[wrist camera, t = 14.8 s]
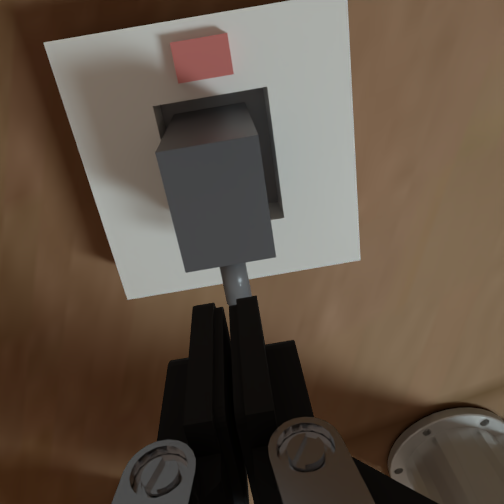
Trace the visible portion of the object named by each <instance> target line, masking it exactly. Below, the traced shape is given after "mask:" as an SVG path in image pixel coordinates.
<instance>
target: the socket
mask: <svg viewBox="0 0 504 504" xmlns="http://www.w3.org/2000/svg"><path fill="white" fill-rule="evenodd" d="M44 47H45V50H46V53H47V56H48V59H49V62H50V65H51V68H52V71H53V74H54V77H55V80H56V83H57V86H58V89H59V92H60V95H61V98H62V101H63V104H64V108H65V111H66V114H67V117H68V120H69V123H70V126H71V129H72V132H73V135H74V138H75V141H76V144H77V147H78V150H79V153H80V156H81V159H82V162H83V165H84V169H85V172H86V175H87V178H88V181H89V184H90V187H91V190H92V193H93V196H94V199H95V202H96V205H97V208H98V211H99V214H100V217H101V220H102V223H103V226H104V230H105V233H106V236H107V239H108V242H109V245H110V248H111V251H112V254H113V257H114V260H115V263H116V266H117V269H118V272H119V275H120V278H121V281H122V284H123V287H124V291H125V294H126V297H127V300H130V299H135V298H141V297H147V296H153V295H159V294H165V293H171V292H177V291H182V290H188V289H194V288H200V287H206V286H212V285H218V284H223V281H222V277H221V272H220V267H217V268H211V269H205V270H199V271H193V272H188V273H186V272H185V269H184V265H183V261H182V257H181V253H180V249H179V245H178V241H177V237H176V233H175V229H174V225H173V221H172V217H171V213H170V209H169V205H168V201H167V197H166V193H165V189H164V185H163V182H162V178H161V174H160V170H159V166H158V162H157V158H156V154H155V152H156V150H157V148H158V146H159V144H160V142H161V140H162V138H163V136H164V134H165V132H166V129H167V127H168V125H169V123H170V121H171V119H172V117H173V115H174V114H178V113H184V112H189V111H195V110H201V109H207V108H213V107H218V106H224V105H230V104H236V103H242V102H245V104H246V107H247V109H248V111H249V114H250V116H251V119H252V121H253V123H254V126H255V128H256V131H257V133H258V136H259V143H260V150H261V157H262V164H263V170H264V177H265V184H266V191H267V198H268V205H269V211H270V218H271V225H272V232H273V239H274V246H275V252H276V257H275V258H269V259H263V260H257V261H252V262H246V267H247V273H248V278H249V279H253V278H259V277H265V276H270V275H276V274H282V273H288V272H294V271H300V270H306V269H311V268H317V267H323V266H329V265H335V264H341V263H347V262H353V261H358V260H360V242H359V222H358V202H357V182H356V162H355V142H354V122H353V102H352V82H351V62H350V42H349V22H348V2H347V0H289V1H283V2H278V3H272V4H266V5H260V6H254V7H248V8H242V9H237V10H231V11H225V12H219V13H213V14H207V15H201V16H196V17H190V18H184V19H178V20H172V21H166V22H161V23H155V24H149V25H143V26H137V27H131V28H125V29H120V30H114V31H108V32H102V33H96V34H90V35H84V36H79V37H73V38H67V39H61V40H55V41H49V42H44Z"/></svg>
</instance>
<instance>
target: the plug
mask: <svg viewBox="0 0 504 504" xmlns="http://www.w3.org/2000/svg"><path fill="white" fill-rule="evenodd" d="M155 154H156V158H157V162H158V166H159V170H160V174H161V178H162V182H163V185H164V189H165V193H166V197H167V201H168V205H169V209H170V213H171V217H172V221H173V225H174V229H175V233H176V237H177V241H178V245H179V249H180V253H181V257H182V261H183V265H184V269H185V272H186V273H188V272H193V271H199V270H205V269H211V268H217V267H220V272H221V277H222V281H223V286H224V291H225V296H226V300H227V304H228V305H229V306H230V305H236V299H239V298H245V297H251V296H252V295H251V289H250V284H249V278H248V273H247V267H246V262H252V261H257V260H263V259H269V258H275V257H276V252H275V246H274V239H273V232H272V225H271V218H270V211H269V205H268V198H267V191H266V184H265V177H264V170H263V164H262V157H261V150H260V143H259V136H258V133H257V131H256V128H255V126H254V123H253V121H252V119H251V116H250V114H249V111H248V109H247V107H246V104H245V102H242V103H236V104H230V105H224V106H218V107H213V108H207V109H201V110H195V111H189V112H184V113H178V114H174V115H173V117H172V119H171V121H170V123H169V125H168V127H167V129H166V132H165V134H164V136H163V138H162V140H161V142H160V144H159V146H158V148H157V150H156V152H155Z"/></svg>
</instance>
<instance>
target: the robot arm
mask: <svg viewBox="0 0 504 504" xmlns="http://www.w3.org/2000/svg"><path fill="white" fill-rule="evenodd" d="M229 317H230V336H229V332H228V327H227V322H226V318H225V313H224V309H223V307H219V308H216V307H215V304H214V303H209V304H203V305H197V306H193V311H192V323H191V335H190V347H189V358H183V359H177V360H171V361H170V362H169V364H168V369H167V375H166V382H165V389H164V396H163V403H162V410H161V417H160V424H159V431H158V438H157V442H154V443H152V444H150V445H147V446H146V447H144V448H143V449H141V450H140V451H139V452H137V453H136V454H135V455H134V456H133V457H132V459H131V460H130V461H129V462H128V464H127V466H126V468H125V470H124V471H123V474H122V477H121V479H120V482H119V485H118V488H117V490H116V493H115V496H114V498H113V501H112V504H249V495H248V480H247V475H248V479H249V483H250V488H251V492H252V496H253V501H254V504H504V421H503V420H502V419H501V418H500V417H499V416H498V415H496V414H494V413H492V412H490V411H487V410H484V409H479V408H471V407H467V408H453V409H447V410H443V411H440V412H437V413H434V414H431V415H429V416H427V417H425V418H423V419H421V420H419V421H418V422H416V423H414V424H413V425H411V426H410V427H409V428H408V429H407V430H406V431H404V432H403V433H402V434H401V436H400V437H399V438H398V439H397V440H396V441H395V443H394V445H393V447H392V448H391V450H390V454H389V457H388V470H389V474H390V476H391V478H390V477H388V476H387V475H385V474H383V473H381V472H379V471H377V470H375V469H374V468H372V467H370V466H368V465H366V464H364V463H363V462H361V461H359V460H357V459H355V458H353V457H351V455H350V453H349V451H348V449H347V447H346V445H345V443H344V441H343V439H342V437H341V435H340V434H339V433H338V431H337V430H336V429H335V427H333V426H332V425H331V424H329V423H328V422H326V421H324V420H321V419H318V418H314V416H313V412H312V408H311V404H310V400H309V396H308V392H307V388H306V384H305V380H304V376H303V372H302V368H301V364H300V361H299V357H298V353H297V349H296V345H295V341H294V340H291V341H285V342H279V343H273V344H267V345H265V342H264V336H263V330H262V324H261V318H260V313H259V307H258V301H257V296H251V297H245V298H239V299H236V305H230V306H229ZM230 338H231V341H230Z"/></svg>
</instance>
